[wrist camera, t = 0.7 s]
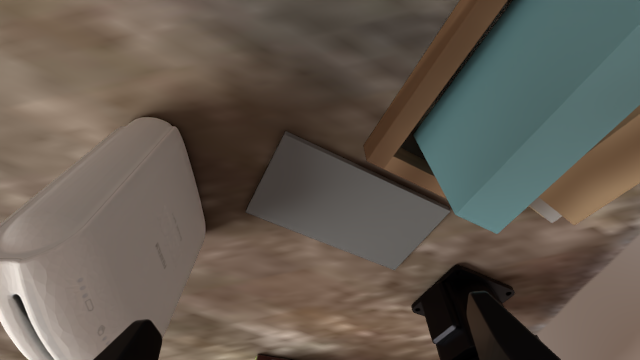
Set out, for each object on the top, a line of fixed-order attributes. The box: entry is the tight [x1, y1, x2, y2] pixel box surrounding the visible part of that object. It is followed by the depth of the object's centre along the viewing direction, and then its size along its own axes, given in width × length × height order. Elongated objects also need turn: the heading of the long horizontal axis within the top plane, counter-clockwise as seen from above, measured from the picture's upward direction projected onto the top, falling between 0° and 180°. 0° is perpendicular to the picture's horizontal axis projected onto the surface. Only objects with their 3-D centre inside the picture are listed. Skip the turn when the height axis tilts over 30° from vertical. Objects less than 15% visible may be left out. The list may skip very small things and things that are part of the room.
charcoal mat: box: [246, 131, 450, 270], centre depth 24 cm, size 13×7×1 cm, turn 63°
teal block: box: [413, 0, 640, 234], centre depth 15 cm, size 2×10×8 cm, turn 153°
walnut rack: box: [363, 0, 508, 199], centre depth 18 cm, size 7×14×2 cm, turn 153°
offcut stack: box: [529, 105, 640, 225], centre depth 20 cm, size 5×11×3 cm, turn 144°
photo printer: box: [0, 117, 206, 360], centre depth 18 cm, size 10×4×12 cm, turn 0°
